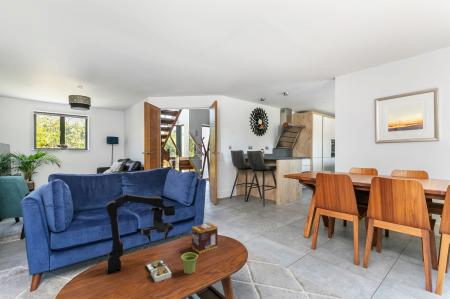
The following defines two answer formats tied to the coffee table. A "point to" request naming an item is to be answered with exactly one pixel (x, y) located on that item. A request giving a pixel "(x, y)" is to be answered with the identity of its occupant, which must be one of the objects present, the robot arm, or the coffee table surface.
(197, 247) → the supplement box
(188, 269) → the plant pot
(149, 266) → the grey square tray
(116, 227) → the robot arm
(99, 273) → the coffee table surface
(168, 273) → the trough
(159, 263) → the copper cell
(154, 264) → the brass plunger
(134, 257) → the coffee table surface
